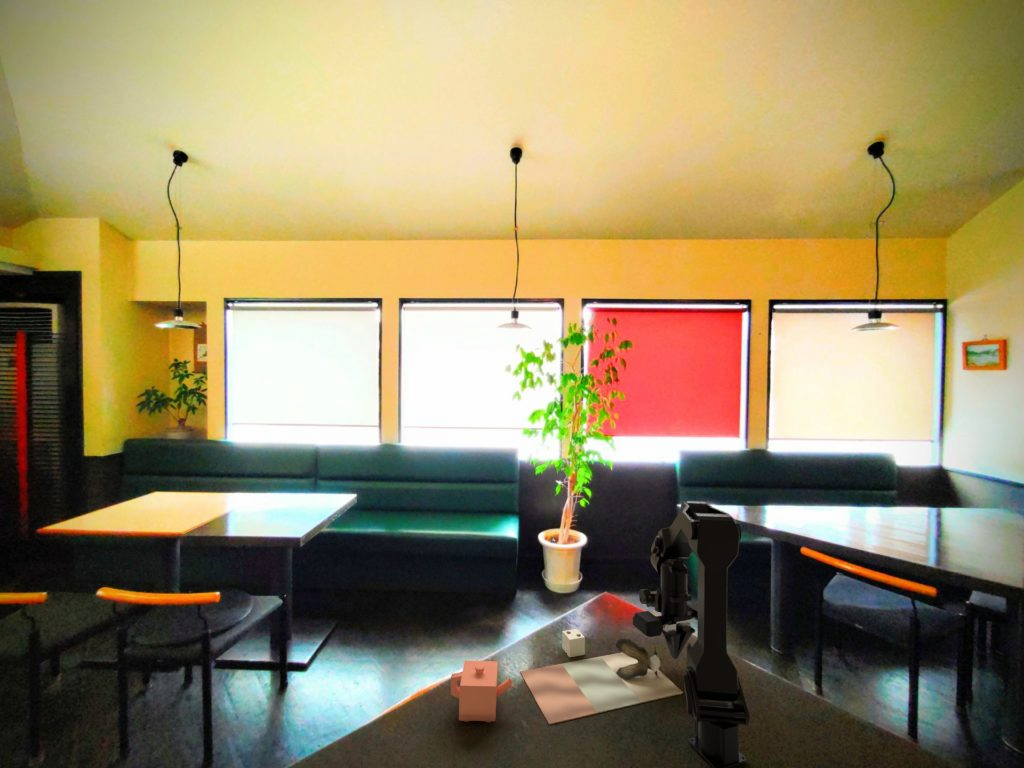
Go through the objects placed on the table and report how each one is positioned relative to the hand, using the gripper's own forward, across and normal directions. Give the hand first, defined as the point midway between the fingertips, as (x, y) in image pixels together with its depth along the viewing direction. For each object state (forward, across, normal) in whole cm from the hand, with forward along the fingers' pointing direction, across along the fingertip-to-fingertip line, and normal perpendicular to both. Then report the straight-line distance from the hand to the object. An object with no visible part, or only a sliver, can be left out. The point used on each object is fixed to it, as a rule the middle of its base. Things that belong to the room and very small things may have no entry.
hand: (674, 657), depth 94 cm
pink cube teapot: (+2, +46, +1) cm, 46 cm away
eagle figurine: (+2, +10, 0) cm, 10 cm away
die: (+2, +20, -12) cm, 23 cm away
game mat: (+2, +20, 0) cm, 20 cm away
